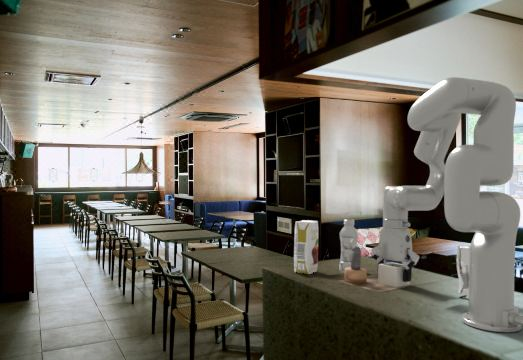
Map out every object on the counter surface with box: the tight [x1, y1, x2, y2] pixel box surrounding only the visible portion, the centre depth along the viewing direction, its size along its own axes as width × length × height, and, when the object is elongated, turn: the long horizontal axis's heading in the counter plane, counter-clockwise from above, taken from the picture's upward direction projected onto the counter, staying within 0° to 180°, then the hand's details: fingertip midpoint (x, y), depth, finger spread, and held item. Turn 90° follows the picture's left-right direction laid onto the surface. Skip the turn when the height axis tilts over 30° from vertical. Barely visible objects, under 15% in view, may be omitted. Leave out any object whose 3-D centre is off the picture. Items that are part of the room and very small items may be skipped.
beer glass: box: [455, 245, 471, 301], centre depth 128 cm, size 7×7×15 cm
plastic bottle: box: [338, 219, 359, 274], centre depth 158 cm, size 6×7×20 cm
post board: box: [337, 245, 415, 293], centre depth 138 cm, size 17×18×13 cm
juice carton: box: [293, 219, 319, 275], centre depth 160 cm, size 8×9×19 cm
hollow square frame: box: [377, 261, 411, 287], centre depth 137 cm, size 7×7×6 cm
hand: (393, 278), depth 137 cm, fingers open, 9 cm apart
